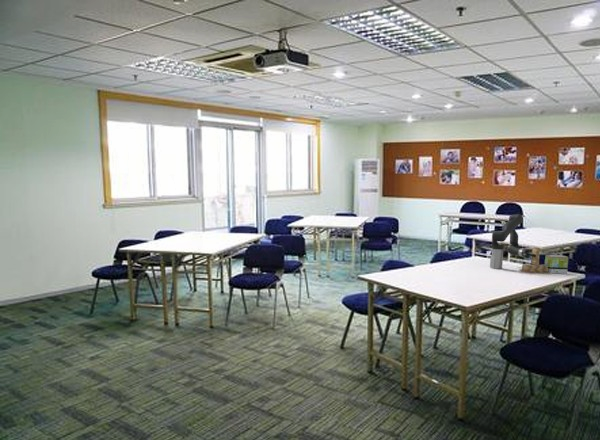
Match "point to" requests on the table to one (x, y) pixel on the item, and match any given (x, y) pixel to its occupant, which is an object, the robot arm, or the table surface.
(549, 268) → the tea box
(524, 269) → the ridge board
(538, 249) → the post
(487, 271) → the table surface
